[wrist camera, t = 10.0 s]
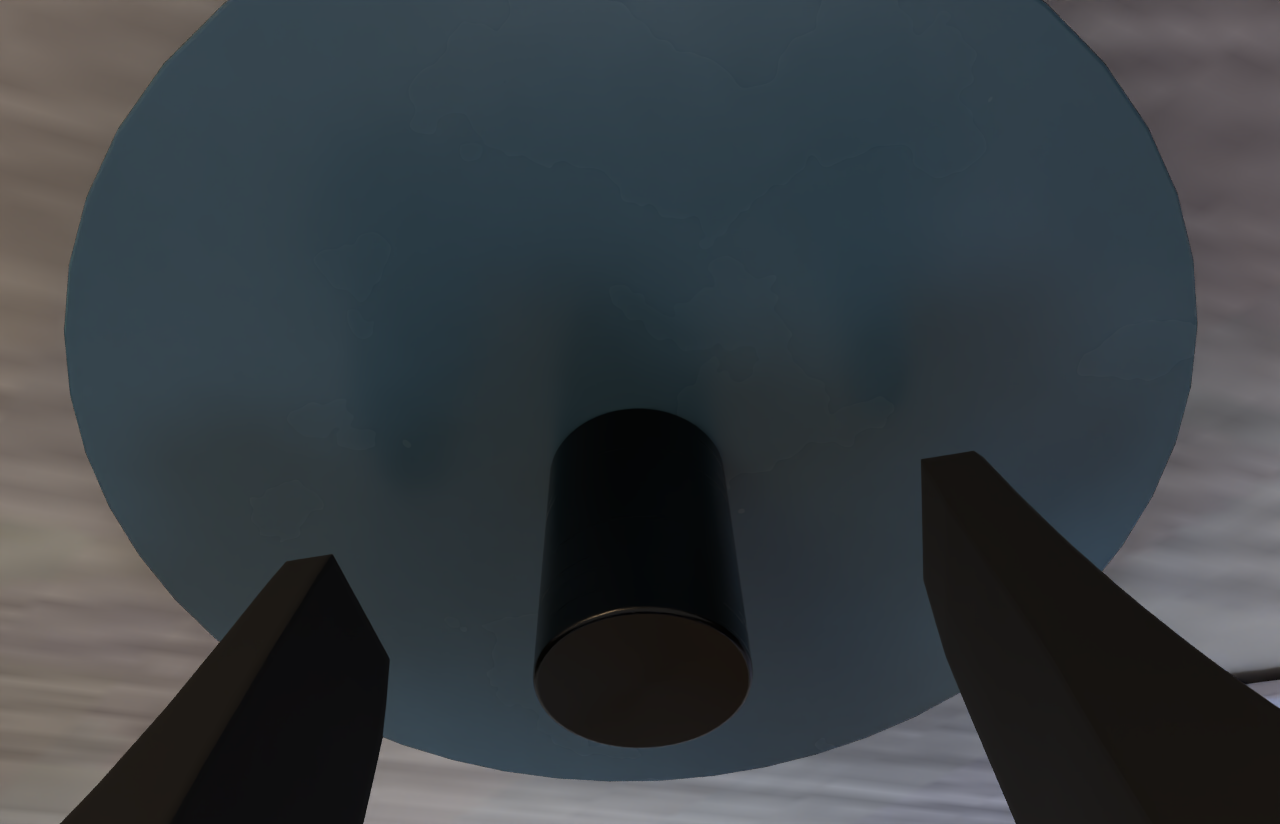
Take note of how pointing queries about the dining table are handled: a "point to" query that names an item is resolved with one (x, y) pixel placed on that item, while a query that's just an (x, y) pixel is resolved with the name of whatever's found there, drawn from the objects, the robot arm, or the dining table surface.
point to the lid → (624, 345)
